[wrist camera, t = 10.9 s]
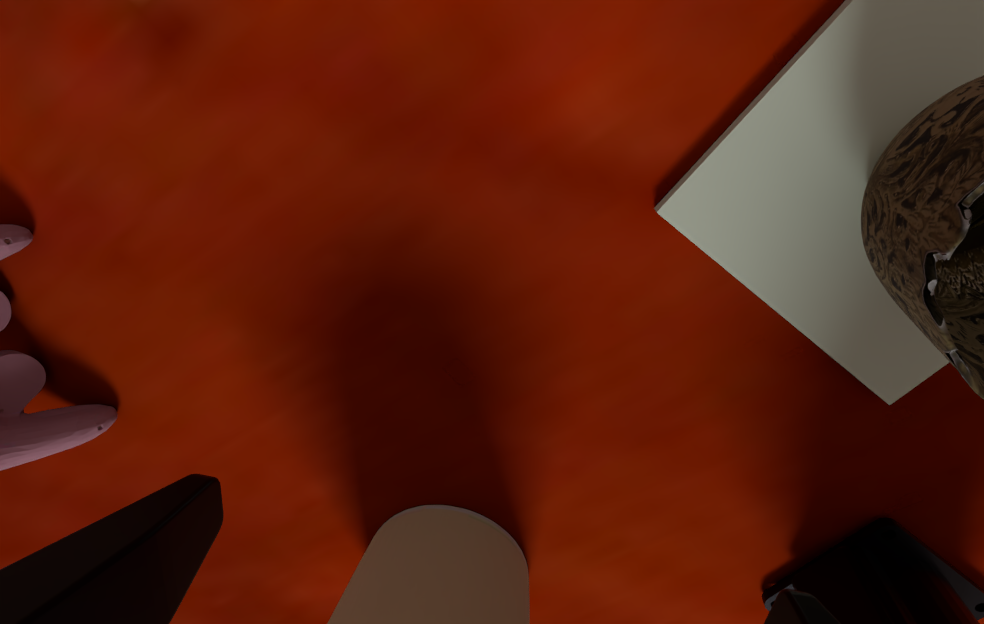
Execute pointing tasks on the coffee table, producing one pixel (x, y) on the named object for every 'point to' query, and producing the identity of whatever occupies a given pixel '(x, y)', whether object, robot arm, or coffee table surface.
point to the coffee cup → (438, 572)
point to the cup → (935, 225)
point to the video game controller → (19, 378)
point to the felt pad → (830, 178)
